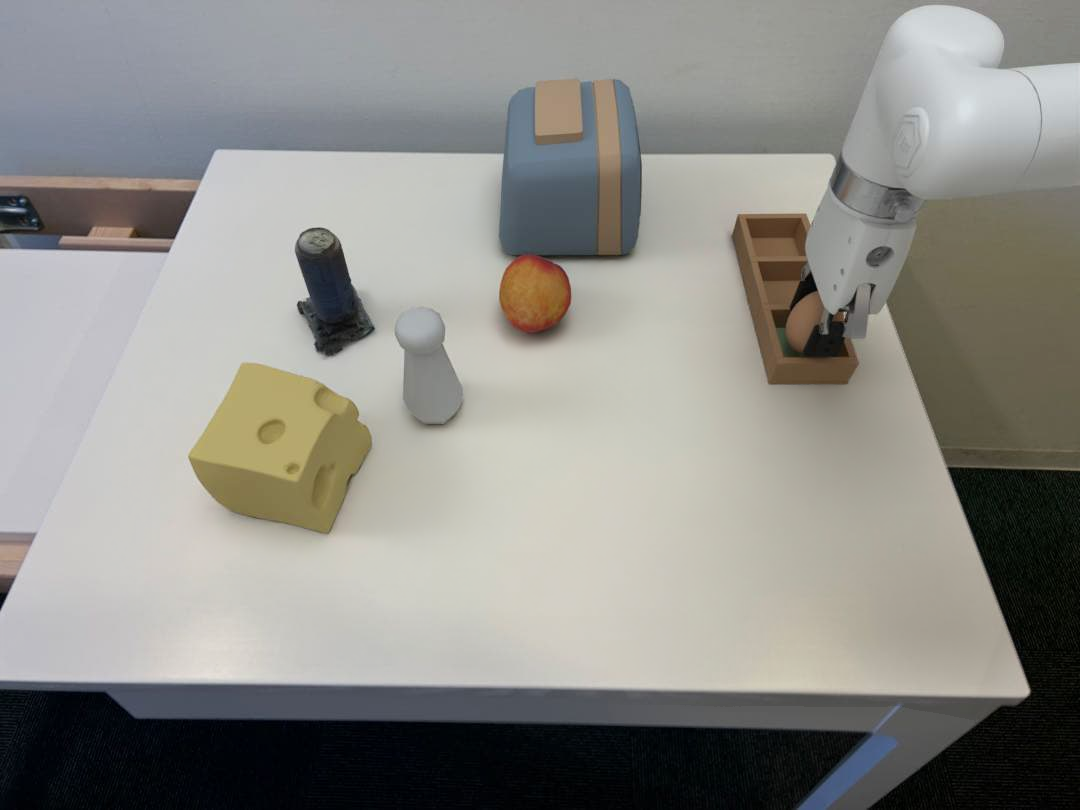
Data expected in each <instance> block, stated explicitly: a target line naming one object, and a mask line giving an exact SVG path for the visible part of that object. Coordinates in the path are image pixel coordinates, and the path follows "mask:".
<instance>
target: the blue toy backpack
mask: <svg viewBox="0 0 1080 810" xmlns="http://www.w3.org/2000/svg"><path fill="white" fill-rule="evenodd" d="M505 126H506V127H505V138H504V146H503V147H504V149H503V160H502V171H501V172H502V173H501V188H500V189H501V191H500V209H499V224H498V225H499V228H498V239H499V243H500V247H501V249H502V250H503V251H505V252H506V253H507V254H510V255H513V256H521V255H525V254H532V255H537V256H620V255H622V256H623V255H626V254H629V253H630V252H631V251H632V250H634V249H635V248H636V244H637V242H638V238H639V228H640V222H641V216H642V215H641V213H642V189H643V187H642V185H643V173H642V172H643V163H642V162H643V161H642V154H641V146H640V137H639V131H638V130H639V129H638V123H637V116H636V109H635V106H634V100H633V97H632V93H631V90H630V87H629V86H628V85H627V84H626V83H624V82H623V81H622V80H621V79H615V78H613V79H612V78H608V79H597V80H593V81H592V80H587V81H581V79H580V78H578V77H577V78H576V77H575V78H565V79H552V80H540V81H536V82H535V85H534V86H529V87H528V86H527V87H524V88H520V89H518V90H517V91H516V92H515V93H514V94H513V95H512V97H511V98H510V100H509V103H508V106H507V116H506V125H505Z"/></svg>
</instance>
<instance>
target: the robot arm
mask: <svg viewBox="0 0 1080 810" xmlns="http://www.w3.org/2000/svg"><path fill="white" fill-rule="evenodd" d="M1004 51H1005V38H1004V33H1003V32H1002V30H1001V28H1000V27H999V26H998V24H997V23H996V22H995V21H993V20H992V19H991V18H989V17H987V16H986V15H984V14H982V13H980V12H978V11H975V10H972V9H968V8H966V7H961V6H956V5H949V4H929V5H928V4H926V5H921V6H917V7H915V8H912V9H910V10H908V11H906V12H904V13H903V14H901V15H900V16H899V17H898V18H896V20H895V21H894V22H893V23H892V24H891V26H890V27H889V28H888V31H887V33H886V35H885V37H884V39H883V42H882V44H881V47H880V49H879V52H878V55H877V58H876V60H875V62H874V64H873V67H872V70H871V72H870V75H869V77H868V80H867V82H866V85H865V88H864V91H863V93H862V96H861V98H860V101H859V103H858V105H857V109H856V112H855V113H854V116H853V119H852V120H851V121H852V122H851V124H850V127H849V129H848V131H847V134H846V137H845V140H844V142H843V146H842V147H841V150H840V152H839V154H838V157H837V159H836V163H835V165H834V167H833V170H832V172H831V176H830V178H829V181H828V184H827V187H826V190H825V192H824V193H823V196H822V199H821V200H820V203H819V204H818V206H817V209H816V211H815V214H814V215H813V217H812V221H811V223H810V225H811V226H810V229H809V231H808V234H807V238H806V242H805V251H806V256H807V263H806V264H805V266H804V267H803V269H802V272H801V277H802V279H803V280H805V281H800V282H799V285H798V287H797V290H796V292H795V295H794V297H793V300H792V302H791V305H790V310H791V311H792V310H793V308H794V307H795V305H796V304H797V303H798V302H799V301H801V300H802V299H803V298H804V297H805V296H807V295H809V294H810V293H812V292H815V291H818V292H819V295H820V297H821V300H822V303H823V305H824V310H823V314H822V317H821V321H820V325H815V326H814V328H813V330H812V332H811V334H810V337H809V339H808V341H807V343H806V345H805V348H804V350H803V353H804V356H805V357H833V356H835V355H837V353H838V351H839V349H840V347H841V345H842V343H843V341H844V339H845V338H847V339H851V340H865V339H866V337H867V332H868V331H867V330H868V323H869V316H870V315H874V316H875V315H878V314H880V313H881V311H882V310H883V308H884V307H885V305H886V302H887V301H888V299H889V297H890V295H891V293H892V291H893V289H894V287H895V285H896V282H897V281H898V278H899V276H900V275H901V272H902V269H903V267H904V264H905V262H906V260H907V257H908V255H909V252H910V249H911V246H912V243H913V240H914V237H915V233H916V230H917V227H918V221H917V216H918V215H919V214H920V213H921V212H922V210H923V208H924V206H925V205H926V202H927V201H928V200H929V201H947V200H957V199H966V198H975V197H986V196H992V195H999V194H1009V193H1018V192H1026V191H1037V190H1047V189H1058V188H1059V189H1060V188H1068V187H1069V188H1070V187H1079V186H1080V62H1068V63H1054V64H1043V65H1031V66H1020V67H1011V68H999V66H1000V63H1001V61H1002V59H1003V54H1004ZM837 312H844V313H845V315H844V321H832V319H833V316H834V315H835V314H836V313H837Z"/></svg>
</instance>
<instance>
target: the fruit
mask: <svg viewBox="0 0 1080 810" xmlns="http://www.w3.org/2000/svg"><path fill="white" fill-rule="evenodd" d="M499 285H500V286H499V290H498V291H499V292H498V295H499V298H498V299H499V300H498V301H499V303H500V307H501V310H502V312H503V314H504V316H505V318H506V319H507V321H508V322H509V323H510V324H511V325H512V326H513V327H514V328H515V329H517V330H519V331H520V332H524V333H537V332H540V331H543V330H546V329H549V328H551V327H553V326H554V325H556V324H557V323H559V322H560V321H561V320H562V319H563V318H564V317H565V315H566V314H567V313H568V310H569V308H570V306H571V303H572V287H571V283H570V279H569V276H568V275H567V272H566V271H565V270H564V268H563V267H562V266H561V265H560V264H557V263H556V262H553V261H552V260H550V259H547V258H545V257H542V256H540V255H532V254H525V255H518V256H517V257H516V258H514V259H513V260H512V261H511V262H510V264H508V265H507V266H506V268H505V269H504V272H503V274H502V277H501V281H500V284H499Z"/></svg>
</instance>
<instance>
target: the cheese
mask: <svg viewBox="0 0 1080 810" xmlns="http://www.w3.org/2000/svg"><path fill="white" fill-rule="evenodd" d="M359 417H360V411H359V409H358V407H357V405H356V403H355V402H354V401H353V400H352V399H350V398H348V397H345V396H342V395H340V394H338V393H337V392H335V391H334V390H332V389H330V388H329V387H328V386H327V385H325V384H324V383H322V382H320V381H318V380H317V379H313V378H311V377H308V376H303V375H299V374H295V373H292V372H289V371H285V370H282V369H279V368H275V367H273V366H268V365H266V364H260V363H256V362H255V363H254V362H242V363H241V364H240V366H239V368H238V369H237V372H236V374H235V376H234V377H233V380H232V383H231V384H230V387H229V388H228V390H227V392H226V394H225V396H224V397H223V399H222V401H221V403H220V405H219V406H218V408H217V409H216V411H215V413H214V414H213V416H212V417H211V419H210V421H209V422H208V424H207V426H206V427H205V429H204V430H203V432H202V434H201V435H200V437H199V438H198V439H197V442H196V443H195V444H194V446H193V447H192V448H191V450H190V452H189V453H188V455H187V458H188V460H189V463H190V465H191V467H192V470H193V472H194V474H195V476H196V478H197V480H198V481H199V483H200V484H201V485H202V487H203V488H204V489H205V490H206V492H207V493H208V494H209V495H210V496H211V497H212V498H213V499H214V501H216V502H217V503H218V504H219V505H221V506H222V507H224V508H225V509H227V510H228V511H230V512H233V513H235V514H240V515H244V516H248V517H252V518H258V519H263V520H268V521H272V522H278V523H283V524H288V525H292V526H296V527H299V528H304V529H308V530H311V531H315V532H319V533H322V534H329V533H330V531H331V529H332V528H333V527H332V526H333V524H334V523H335V520H336V518H337V516H338V513H339V511H340V509H341V507H342V504H343V501H344V499H345V497H346V493H347V492H346V491H347V485H348V482H349V479H350V477H351V475H352V476H354V475H356V474H357V473H358V471H359V470H360V467H361V466H362V464H363V461H364V460H365V459H366V457H367V455H368V453H369V451H370V449H371V447H372V444H373V438H372V433H371V431H370V429H369V428H368V426H367V425H366V424H364V423H362V422H361V421H359Z"/></svg>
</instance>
